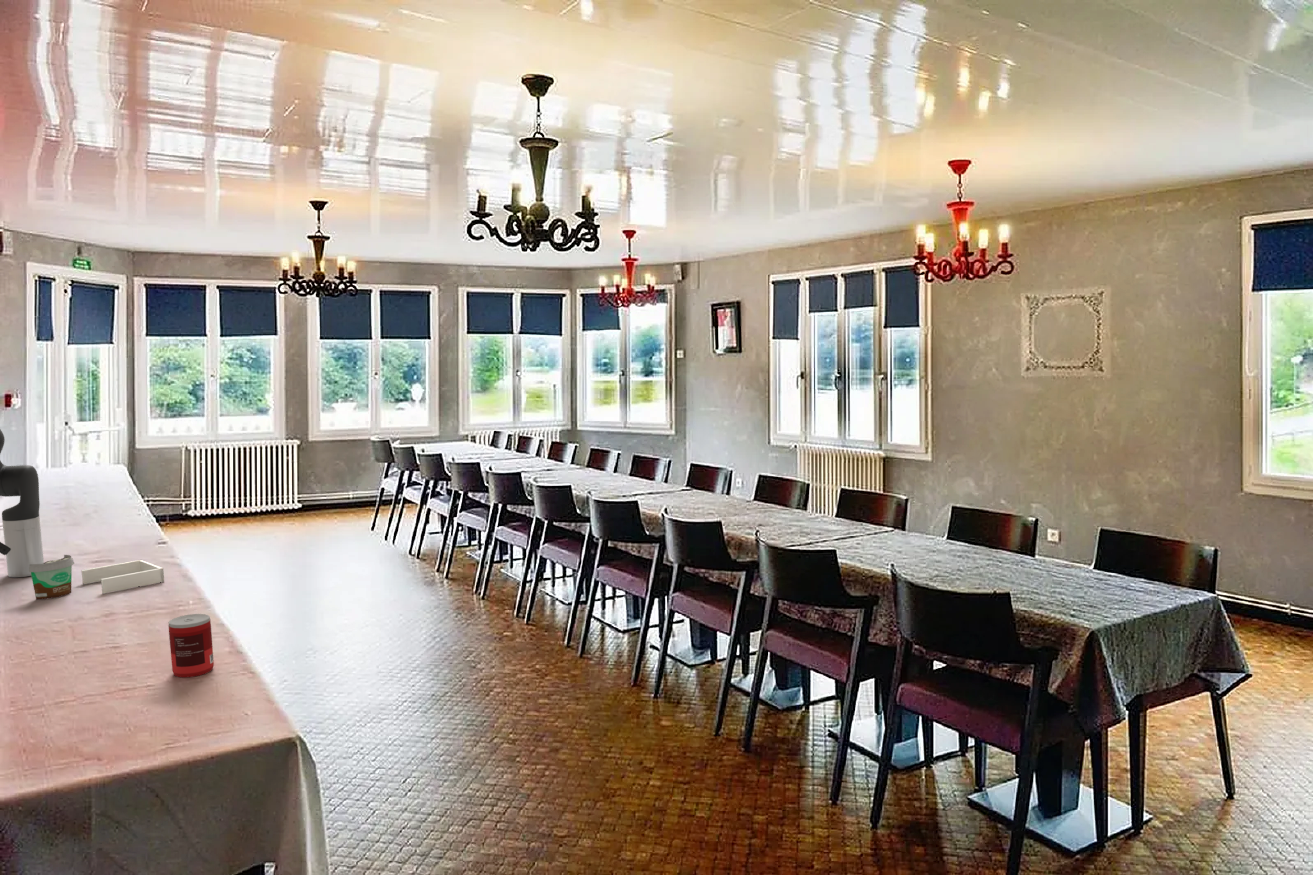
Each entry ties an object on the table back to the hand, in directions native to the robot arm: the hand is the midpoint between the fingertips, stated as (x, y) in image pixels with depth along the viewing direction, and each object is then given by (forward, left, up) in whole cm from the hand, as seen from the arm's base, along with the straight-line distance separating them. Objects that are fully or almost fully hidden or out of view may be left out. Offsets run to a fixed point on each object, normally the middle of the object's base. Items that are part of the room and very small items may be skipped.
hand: (7, 552), depth 242 cm
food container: (0, +11, -14) cm, 18 cm away
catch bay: (0, +26, -14) cm, 30 cm away
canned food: (+94, +10, -14) cm, 96 cm away
